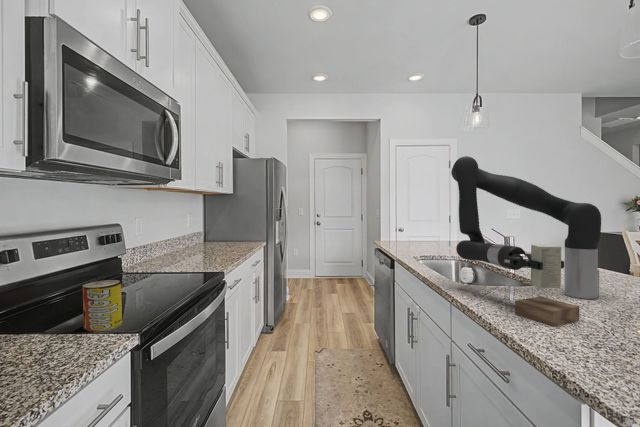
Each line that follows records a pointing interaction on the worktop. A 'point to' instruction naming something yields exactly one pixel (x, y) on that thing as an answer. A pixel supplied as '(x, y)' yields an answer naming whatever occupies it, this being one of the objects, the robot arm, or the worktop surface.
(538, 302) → the walnut block
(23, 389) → the worktop surface
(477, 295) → the worktop surface
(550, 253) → the skincare box
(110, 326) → the beverage can
